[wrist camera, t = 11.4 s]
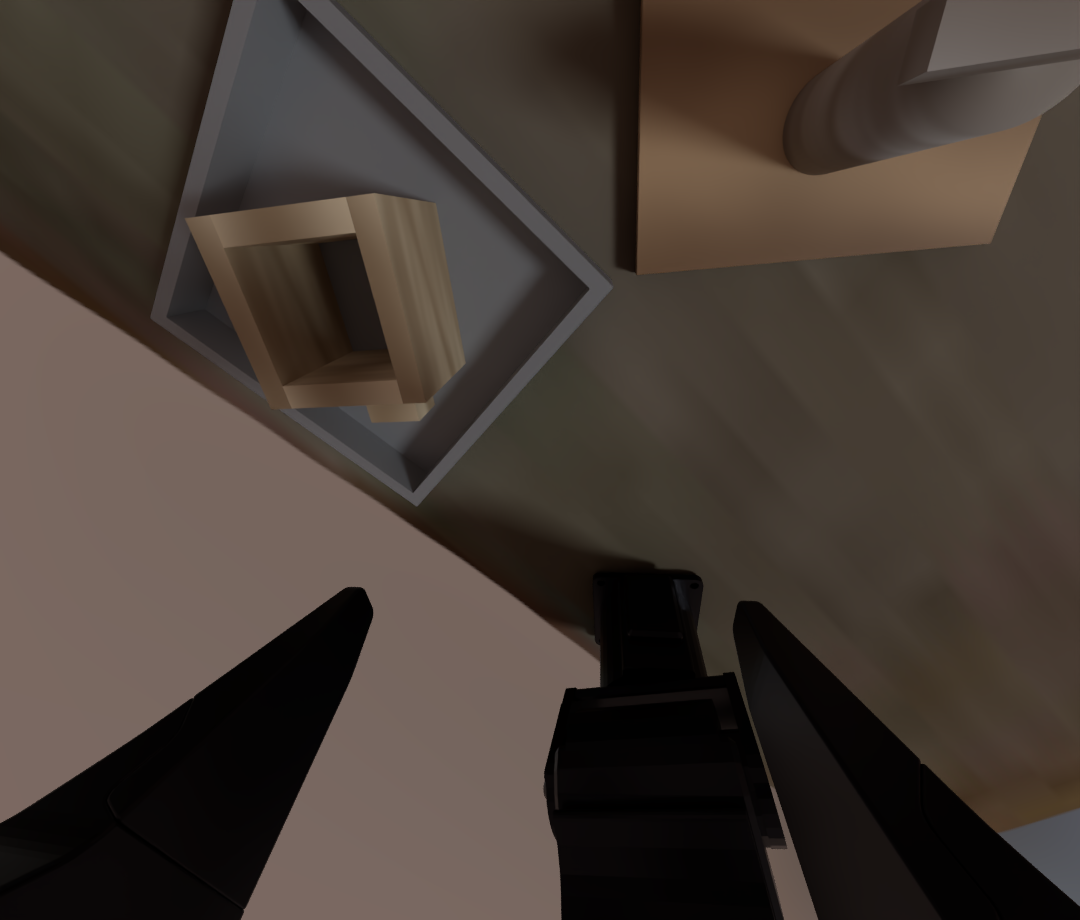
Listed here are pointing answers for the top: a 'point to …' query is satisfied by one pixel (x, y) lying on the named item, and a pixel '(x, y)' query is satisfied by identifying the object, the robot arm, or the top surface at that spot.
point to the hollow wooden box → (312, 310)
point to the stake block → (837, 123)
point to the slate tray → (348, 170)
